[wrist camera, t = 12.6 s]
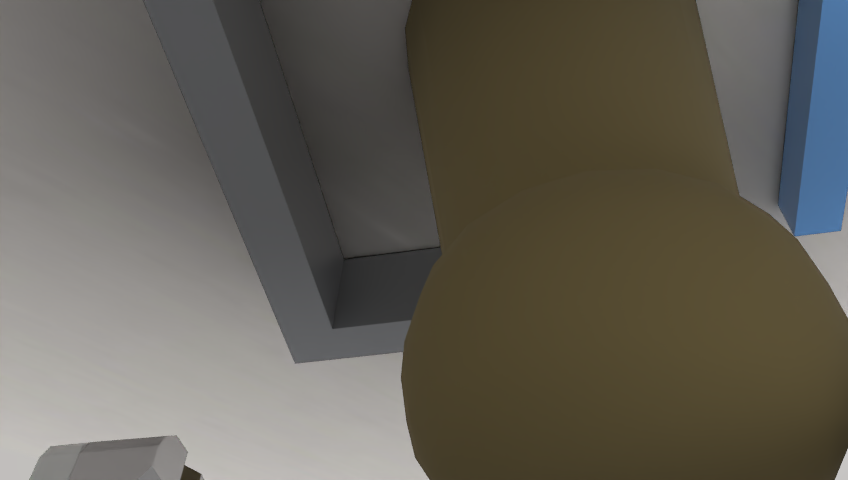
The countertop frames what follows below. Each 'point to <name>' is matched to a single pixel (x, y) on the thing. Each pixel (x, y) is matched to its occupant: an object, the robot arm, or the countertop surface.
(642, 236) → the cork
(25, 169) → the countertop surface
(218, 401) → the countertop surface
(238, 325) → the countertop surface
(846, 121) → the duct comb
